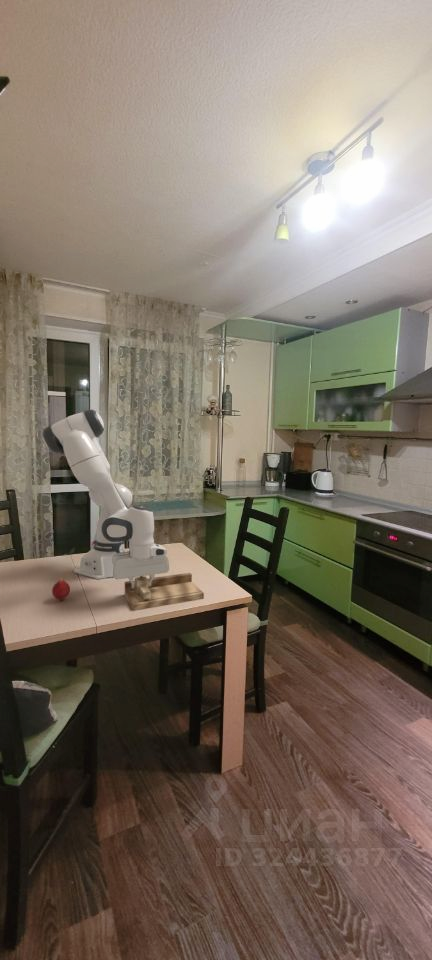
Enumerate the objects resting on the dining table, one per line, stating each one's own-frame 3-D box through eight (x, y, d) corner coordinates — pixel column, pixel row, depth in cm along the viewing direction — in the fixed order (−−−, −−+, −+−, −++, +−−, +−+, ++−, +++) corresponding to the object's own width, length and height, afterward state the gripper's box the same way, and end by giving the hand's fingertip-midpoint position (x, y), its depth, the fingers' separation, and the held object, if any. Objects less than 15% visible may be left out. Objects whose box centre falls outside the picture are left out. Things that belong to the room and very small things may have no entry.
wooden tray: (133, 610, 129) (133, 596, 128) (124, 594, 142) (124, 581, 141) (203, 598, 140) (203, 585, 140) (189, 584, 153) (189, 572, 152)
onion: (59, 605, 131) (58, 583, 131) (48, 601, 134) (48, 579, 134) (73, 599, 136) (73, 577, 136) (63, 595, 139) (62, 574, 139)
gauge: (141, 600, 131) (141, 585, 130) (134, 589, 140) (134, 575, 139) (152, 598, 133) (153, 583, 132) (145, 588, 142) (145, 574, 141)
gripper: (114, 555, 130) (114, 594, 131) (171, 549, 139) (170, 586, 140) (110, 550, 136) (110, 588, 137) (165, 545, 144) (165, 580, 146)
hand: (141, 587), depth 139 cm, fingers closed on gauge, 4 cm apart
